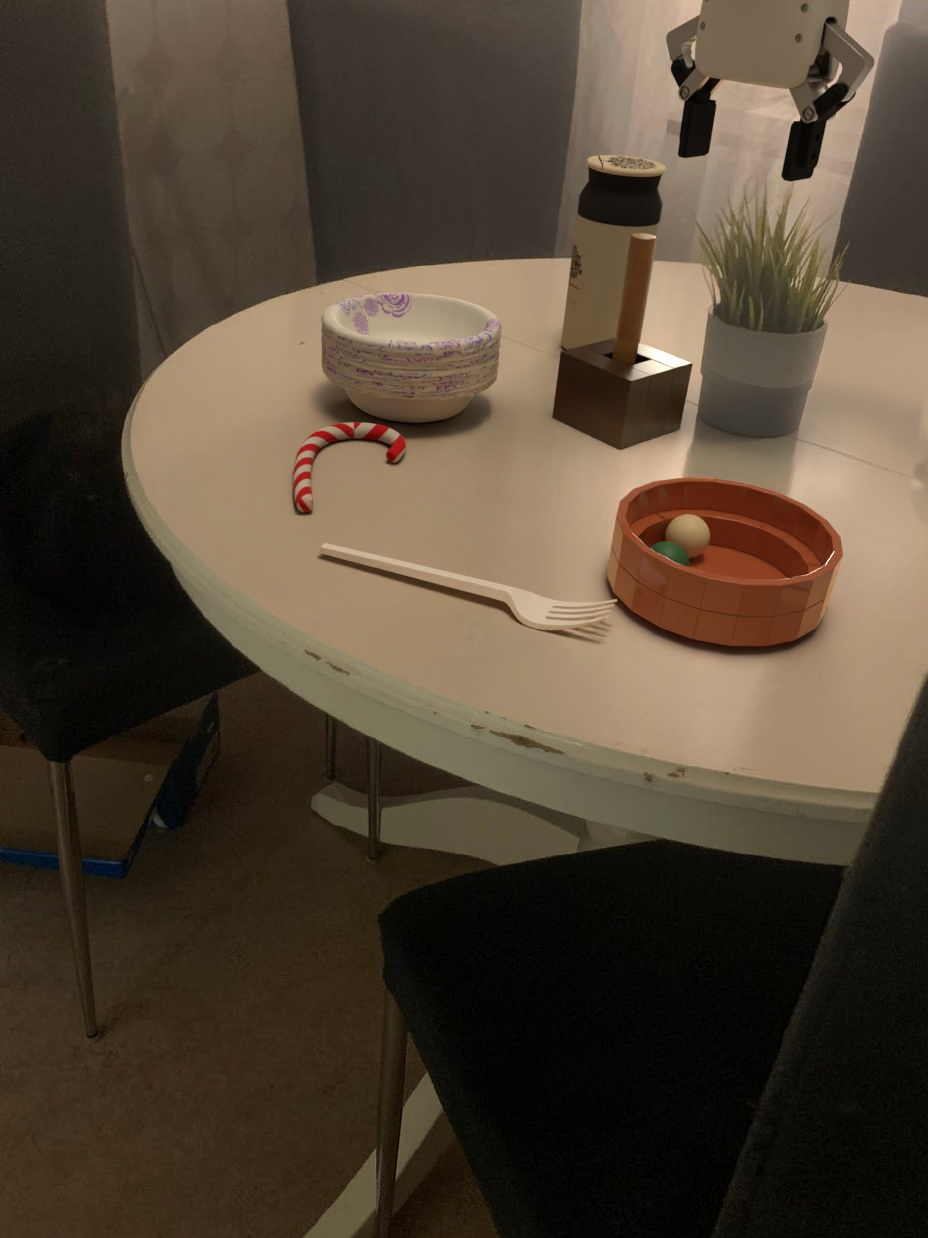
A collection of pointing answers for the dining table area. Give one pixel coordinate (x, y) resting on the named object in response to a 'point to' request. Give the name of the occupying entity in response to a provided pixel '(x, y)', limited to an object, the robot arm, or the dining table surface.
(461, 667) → the dining table surface
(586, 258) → the travel mug
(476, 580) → the fork
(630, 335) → the stick
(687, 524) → the cream bead
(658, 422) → the holder
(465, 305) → the paper bowls
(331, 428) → the candy cane
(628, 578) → the bowl
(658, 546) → the green bead
